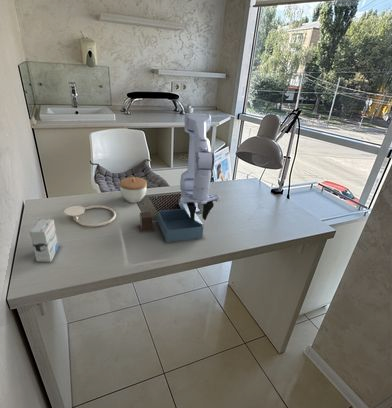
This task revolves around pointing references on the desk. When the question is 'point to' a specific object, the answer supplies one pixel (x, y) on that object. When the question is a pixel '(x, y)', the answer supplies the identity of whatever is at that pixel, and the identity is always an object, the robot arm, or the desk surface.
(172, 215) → the carton
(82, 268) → the desk surface
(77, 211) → the hand towel holder
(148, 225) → the walnut block
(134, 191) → the lidded bowl
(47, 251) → the ink box
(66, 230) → the desk surface
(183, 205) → the flap
